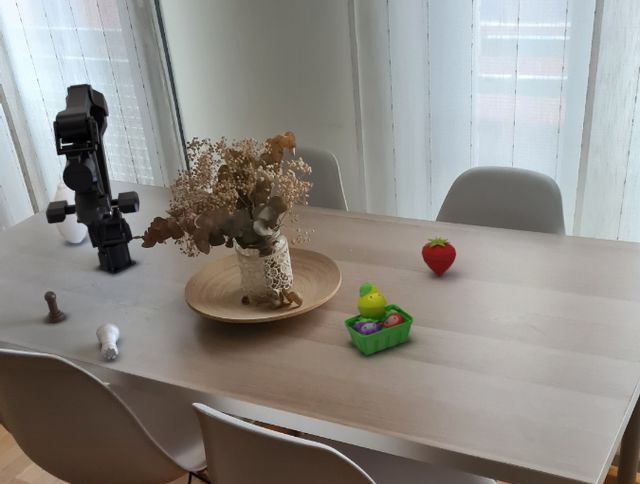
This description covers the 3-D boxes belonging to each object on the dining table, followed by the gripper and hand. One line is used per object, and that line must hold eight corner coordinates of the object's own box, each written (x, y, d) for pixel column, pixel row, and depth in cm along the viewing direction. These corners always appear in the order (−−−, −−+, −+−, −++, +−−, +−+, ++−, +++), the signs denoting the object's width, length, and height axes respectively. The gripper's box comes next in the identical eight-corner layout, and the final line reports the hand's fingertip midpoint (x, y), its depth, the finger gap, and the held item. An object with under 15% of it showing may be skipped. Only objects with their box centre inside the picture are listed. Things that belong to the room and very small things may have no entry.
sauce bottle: (88, 247, 215) (71, 177, 205) (57, 249, 215) (38, 180, 206) (95, 234, 221) (79, 166, 212) (65, 236, 222) (48, 169, 212)
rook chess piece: (122, 326, 172) (125, 348, 166) (114, 343, 174) (116, 366, 168) (101, 319, 170) (103, 341, 164) (92, 337, 172) (94, 360, 166)
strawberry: (449, 284, 182) (449, 241, 176) (417, 279, 185) (416, 236, 180) (460, 273, 186) (461, 230, 181) (428, 267, 189) (427, 225, 184)
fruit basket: (363, 361, 159) (360, 307, 153) (341, 340, 166) (336, 288, 160) (416, 342, 163) (414, 289, 157) (391, 323, 170) (389, 271, 164)
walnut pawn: (58, 313, 185) (50, 286, 182) (67, 317, 184) (60, 290, 180) (44, 320, 183) (37, 293, 180) (54, 324, 181) (46, 297, 178)
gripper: (34, 194, 169) (53, 266, 177) (130, 181, 171) (145, 254, 179) (41, 175, 178) (59, 245, 187) (132, 163, 180) (146, 233, 188)
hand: (102, 244), depth 185 cm, fingers closed
